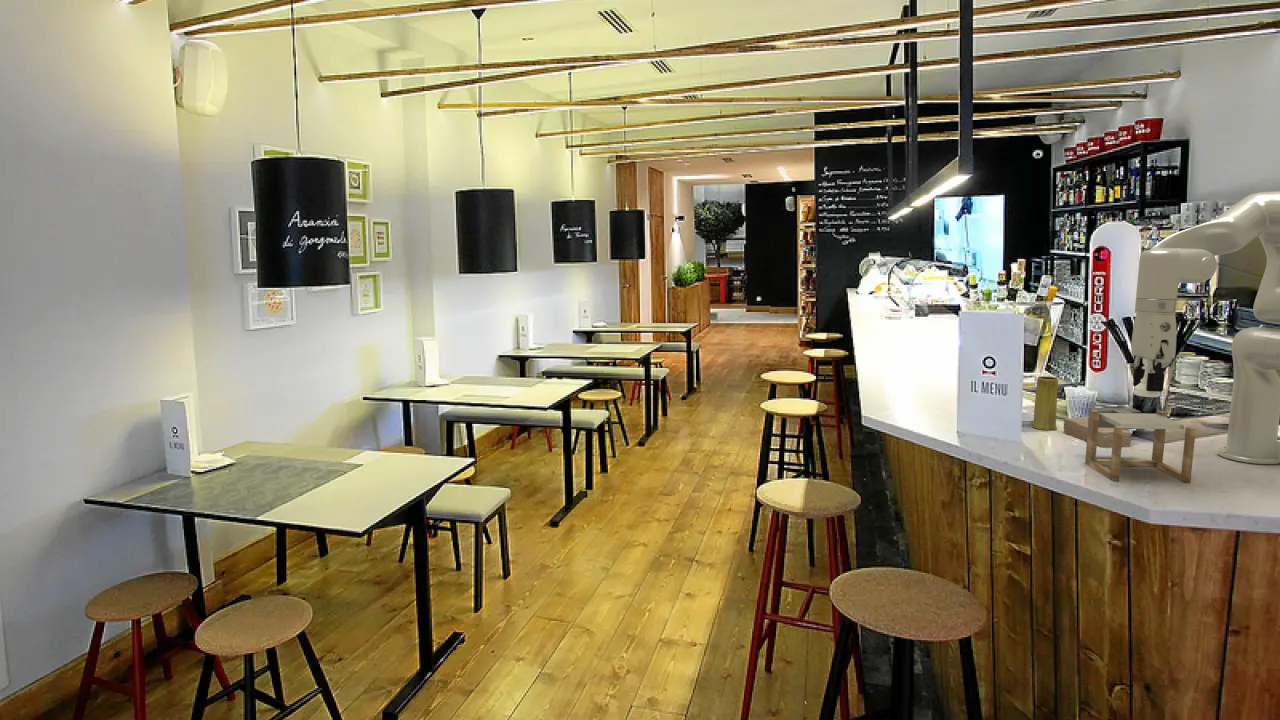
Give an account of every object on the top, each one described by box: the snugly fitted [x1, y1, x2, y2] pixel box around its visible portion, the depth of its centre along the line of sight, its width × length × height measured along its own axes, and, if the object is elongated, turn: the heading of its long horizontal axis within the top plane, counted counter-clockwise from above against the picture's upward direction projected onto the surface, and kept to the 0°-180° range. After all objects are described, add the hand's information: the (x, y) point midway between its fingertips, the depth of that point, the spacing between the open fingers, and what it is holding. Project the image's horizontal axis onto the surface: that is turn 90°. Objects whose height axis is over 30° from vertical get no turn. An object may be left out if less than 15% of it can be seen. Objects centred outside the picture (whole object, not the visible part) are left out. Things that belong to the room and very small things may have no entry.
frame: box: [1084, 409, 1197, 484], centre depth 181 cm, size 16×14×13 cm
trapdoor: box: [1087, 407, 1185, 430], centre depth 185 cm, size 19×13×4 cm
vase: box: [1031, 375, 1059, 431], centre depth 224 cm, size 6×6×14 cm
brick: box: [1063, 416, 1132, 449], centre depth 212 cm, size 17×8×5 cm, turn 6°
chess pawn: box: [1133, 357, 1161, 398], centre depth 177 cm, size 5×5×9 cm
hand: (1147, 387), depth 177 cm, fingers closed on chess pawn, 5 cm apart
